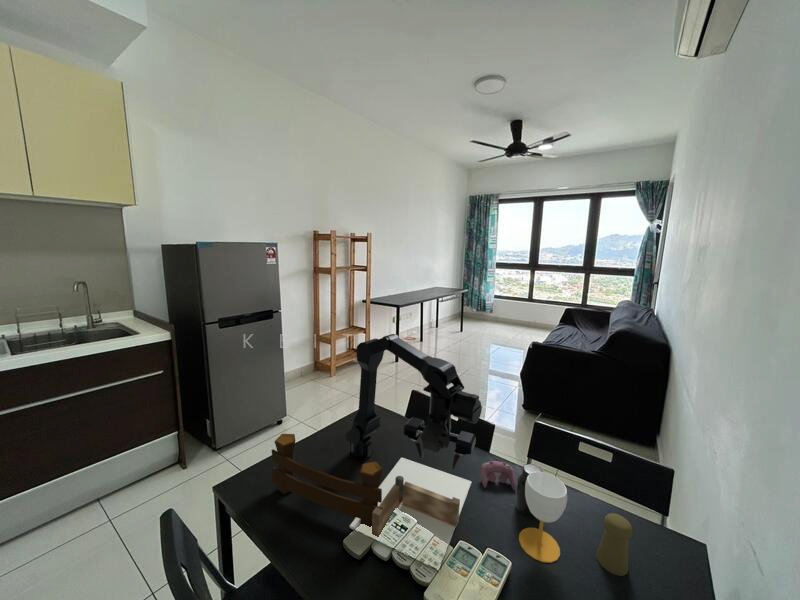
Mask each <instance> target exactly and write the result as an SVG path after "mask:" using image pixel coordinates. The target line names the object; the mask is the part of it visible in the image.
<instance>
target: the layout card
mask: <svg viewBox="0 0 800 600" xmlns="http://www.w3.org/2000/svg"><path fill="white" fill-rule="evenodd" d="M397 476H402V477H403V478H404V483H405V482H408V483H411V484H414V485H416V486H419V487H421V488H424V489H427V490H429V491H432V492H434V493H437V494H440V495H442V496H445V497H448V498H450V499H452V498H453V497H454V498H457V499H460V506H459V517H460V515H461V513H462V510H463V507H464V505H465V501H467V500H466V499H467V496H468V493H469V491H470V489H471V487H472V481H471V480H468V479H466V478H463V477H460V476H457V475H453V474H451V473H448V472H445V471H442V470H440V469H437V468H433V467H430V466H427V465H425V464H422V463H419V462H417V461H415V460H414V461H413V460H410V459H407V458H405V457H400V459H399V460H398V461H397V462H396V464H395V465H394V467H393V468H392V469H391V471H390V472H389V473H388V474H387V476H386V477H385V478H384V480H383V481H382V482H381V484H379V487H378V488H380V489H382V501H383V500H384V498H385V497H386V495H387V494H388V493H389V491H390V490H391V488H392V487H393V485H394V484H395V479H396V477H397ZM403 485H404V484H403ZM382 501H381V503H382ZM381 503H380V502H378V507H379V505H380V504H381ZM396 508H398V509H399V510H400V511H402V512H404V513H407V514H409V515H410V516H412V517H413V518H415V519H416V520H417V522H418V523H419V524H420V525H421V526H422V527H424V528H426V529H428V530H429V531H430V532H432V533H433V534H434V535H435V536H436V537H438V538H439V539H440V540H442V541H444V542H445V543H447V544H448V545H449V546H450V543H451V540H452V538H453V535H454V533H455V529H456V527H458V523H459V519H458V523H457V525H453V524H451V523H449V522H447V521H445V520H443V519H440V518H438V517H435V516H433V515H431V514H428V513H426V512H423V511H421V510H419V509H416V508H414V507H411V506H409V505H407V504H404V503H403V501H402V502H401V503H399V504H398V506H397V507H396ZM360 522H361V519H360V518H356V517H354V519H353V521H352V522H351V523H350V524H349V529H351V530H353V531H355V530H354V529H356V528H357V527H359V526H360Z"/></svg>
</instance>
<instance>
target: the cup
mask: <svg viewBox="0 0 800 600" xmlns="http://www.w3.org/2000/svg"><path fill="white" fill-rule="evenodd" d="M567 491H568V490H567V487H566V485H565V484H564V482H563V481H562V480H560V479H559V478H558V477H557V476H554V475H553V474H551V473H549V472H544V471H542V472H534V473H530V474H529V475H528V477H527V480H526V484H525V497H526V502H527V505H528V507H529V510H530V512H531V513H532V514H533V515H534V516H535V517H536V518H537V519H536V520H538V521H539V524H538V525H539V527H538V528H536V527H527V528H524V529H523V528H522V530H521V531H520V532H519V534H518V541H519V545H520V546H521V547H520V548H521V549H522V550H523V551H524V552H525V553H526V555H528V556H530V557H531V558H532V559H534V560H536V561H539V562H541V563H545V564H546V563H547V564H548V563H549V564H552V563H555V562H557V561H558V559H559V558H560V556H561V547H560V546H559V544H558V542H557V540H556V539H554V537H553V536H552V535H550V534H549V533H547V532H546V531H544V524H545V523H547V524H548V523H554V522H556V521H558V520H559V519H560V518H561V516H562V515H563V513H565V510H566V507H567V503H568V493H567Z"/></svg>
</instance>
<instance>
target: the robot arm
mask: <svg viewBox="0 0 800 600" xmlns="http://www.w3.org/2000/svg"><path fill="white" fill-rule="evenodd" d="M355 350H356V351H355V352H356V361H357V362H358V365H359V366H360V382H359V383H360V384H359V401H358V410H357V412H356V414H355V415H354V417H353V419H352V424H351V429H350V430H349V431H347V432H346V433H344V436H345V441H347V442H348V443H349V452H348V454H346V457H347V458H350V459H353V460H355V461H357V462H360V463H364V462H366V460H367V459H368V458H369V457H370V456H371V455H372V454H373V453H374V450H373V443H372V437H371V436H373V435H375V433H376V431H378V430H379V428H380V427H381V425H380V421H381V416H380V415H379V414H377V413H376V410H375V405H376V404H375V403H376V390H377V389H376V388H377V376H378V368H379V366H380V364H381V362H382V361H383V359H384V358H383V357H384V354H385V351H388V352H390V353H391V354H392V355H394V356H396V357H398V358H399V359H401V360H402V362H403V361H404V363H407V364H408V365H409V366H411V367H412V368H414V369H415V370H417V371H418V373H420V374H421V376H422V378H423V380H425V382H426V383H427V384H428V385H427V386H425V387H424V388H423V389H422V390H423V391H424V392H426V393H429V394H430V395H429V397H430V398H429V399H430V400H429V414H428V416H427V421H426V423H425V421H424V419H421V418H418V417H413V416H412V417H411V418H410V419H409V420H408V421H407V422H406V423H405V424H404V426H403V436H406V437H407V438H408V439H409V440H411V441H413V442H414V444H415V447H416V450H417V452H418V456H419V459H421V460H422V459H423V457H424V453H425V450H429V451H432V452H433V453H439V452H440V451H441V450H443V449H448V447H449V445H450V442H453V443H455V449H454V451H453V453H454V455H453V459H452V460H453V461H452V470H455V468H456V467H457V463H458V462H459V459H460V457H461V456H466V455H472V452H473V450H474V448H475V445H476V443H477V442H476V441H477V440H476V439H477V438H476V435H475V434H474V433H471V432H467V431H464V430H460V433H459V434H455V433H452V432H451V429H452V424H451V422H452V419H451V418H452V417H455V418H458V419H461V420H462V421H465V422H468V423H471V424H473V425H476V424H477V423H478V421H479V420H480V418H481V415H482V409H483V406H482V402H481V400H480V396H479V395H477V394H474V393H473V394H472V393H469V392H466V391H463V390H464V389H465V386H464V384H463V382H462V380H461V378H460V377H459V374H458V372H457V369H456V366H455V365H454V364H453V363H451V362H450V361H447V360H444V359H443V358H439V357H432V356H429V355H428V354H426V353H425V352H423V351H422V350H420V349H418V348H416V347H415V346H413V345H412V344H411V343H409V342H407V341H406V340H404V339H402V338H400V337H399V336H398V334H395V333H390V334H388V335H384V336H382V337H380V338H372V339H368V340H366V341H363V342H360V343H358V344H357V346H356V349H355ZM451 384H452V385H451ZM449 385H451V386H450V387H449V388H448V386H449Z"/></svg>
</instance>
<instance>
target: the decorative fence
mask: <svg viewBox="0 0 800 600" xmlns="http://www.w3.org/2000/svg"><path fill="white" fill-rule="evenodd" d="M274 444H275V448H276V450H275V449H273V448H272V449H271V458H272V459H271V460H272V462H274V463H275V464H277V465H278V468H277V467H275V466H273V467H272V470H271V471H272V473H271V482H273V483H274V484H276V485H277V487H276V490H277V491H279V492H280V493H282V494H283V495H286V494H287V493H289V492H290V493H292V494H293V495H295V496H298V497H300V498H303V499H306V500H307V501H309V502H312V503H315V504H317V505H320V506H322V507H325V508H327V509H330V510H332V511H334V512H337V513H340V514H344V515H348V516H351V517H354V518H360V519H361V522H360V524H365V525H367V526H369V527H371V526H372V512H373V511H374V509H375V508H376V507H378V502H380V503H381V501H382V489H380V488H379V486H380V482H381V481H380V480H381V477H382V473H383V470H384V469H383V467H382V466H381V464H379V463H378V462H377V461H369V462H365V463H364V462H362V464H361V466H360V467H361V468H360V470H359V475H360V480H361V483H360V482H356V481H351V480H348V479H343V478H339V477H338V476H335V475H331V474H330V473H327V472H324V471H321V470H318V469H316V468H312V467H309V466H307V465H303V464H301V463H299V462H297V461H296V460H294V458H293V453H294V451H295V445H296V435H295V433H281V434H280V435H279V436H278V437H277V438H276V439H275V440H274ZM294 474H295V475H296V476H298V477H300V478H303V479H306V480H308V481H311V482H314V483H316V484H318V485H321V486H324V487H326V488H329V489H331V490H334V491H337V492H339V493H343V494H346V495H351V496H353V497H358V498H362V500H361V501H360V500H357V499H354V498H351V497H346V496H342V495H338V494H337V493H333V492H331V491H329V490H326V489H323V488H321V487H319V486H316V485H314V484H311V483H308V482H305V481H302V480H300V479H298V478H297V477H295V476H294ZM378 508H380V509H382V510H383V508H382V507H378Z"/></svg>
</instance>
